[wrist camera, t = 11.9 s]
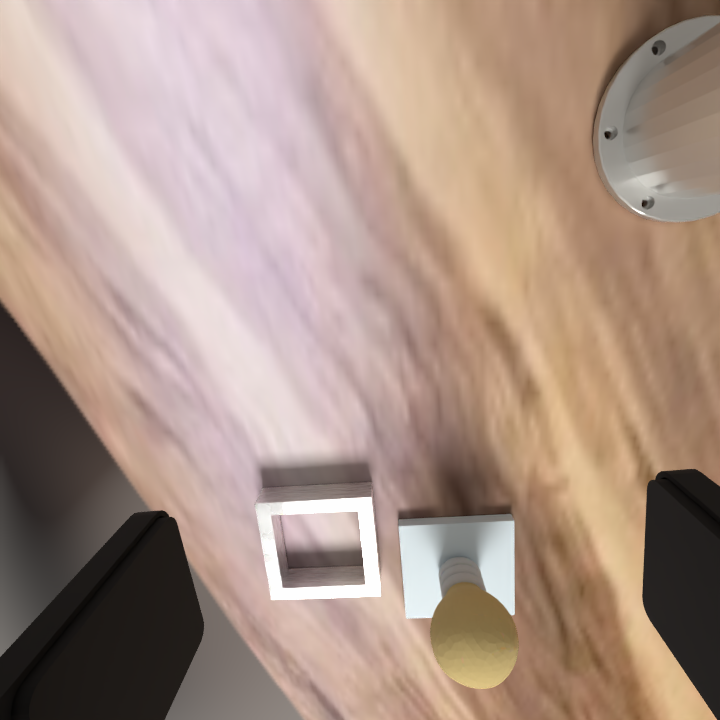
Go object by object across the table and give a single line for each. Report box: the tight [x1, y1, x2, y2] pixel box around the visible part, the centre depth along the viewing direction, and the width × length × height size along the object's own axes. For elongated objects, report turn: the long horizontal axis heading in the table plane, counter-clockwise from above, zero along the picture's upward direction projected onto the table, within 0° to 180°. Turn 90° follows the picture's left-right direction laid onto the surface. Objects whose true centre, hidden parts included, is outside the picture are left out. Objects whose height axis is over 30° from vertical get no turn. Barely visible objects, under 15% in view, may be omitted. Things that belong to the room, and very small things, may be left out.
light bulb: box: [430, 557, 519, 689], centre depth 35 cm, size 6×6×10 cm
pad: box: [398, 514, 515, 619], centre depth 41 cm, size 10×10×1 cm
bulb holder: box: [255, 482, 381, 600], centre depth 40 cm, size 10×10×2 cm
